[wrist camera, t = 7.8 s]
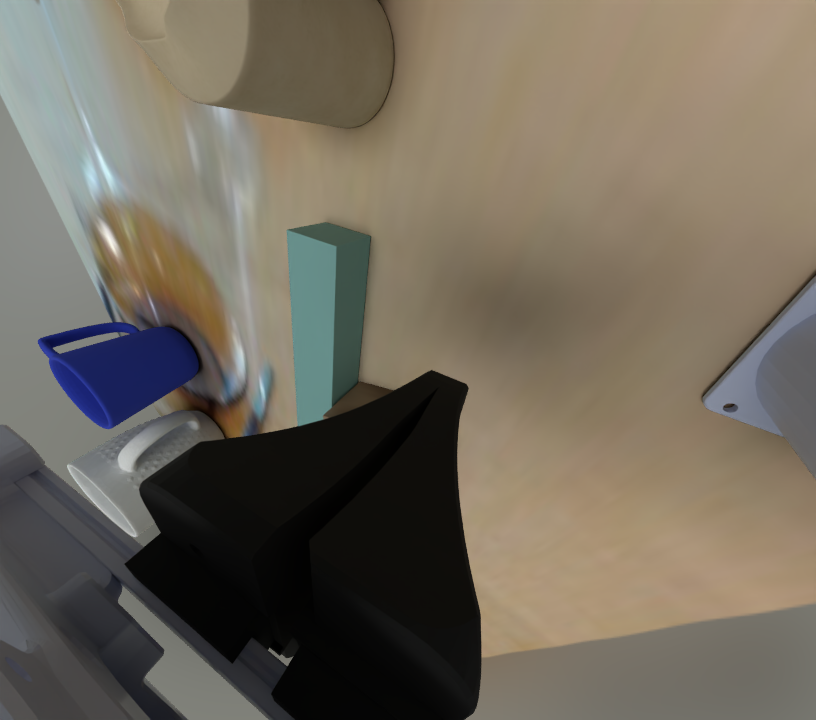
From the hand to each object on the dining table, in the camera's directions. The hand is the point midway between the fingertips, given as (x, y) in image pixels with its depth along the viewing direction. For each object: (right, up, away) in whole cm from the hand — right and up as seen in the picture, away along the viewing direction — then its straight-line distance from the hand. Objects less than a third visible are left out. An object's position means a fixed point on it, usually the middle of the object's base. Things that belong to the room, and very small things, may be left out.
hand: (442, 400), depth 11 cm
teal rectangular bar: (-7, +1, +16) cm, 18 cm away
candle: (-4, +17, +6) cm, 18 cm away
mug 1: (-30, +4, +28) cm, 41 cm away
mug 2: (-29, -8, +34) cm, 46 cm away
